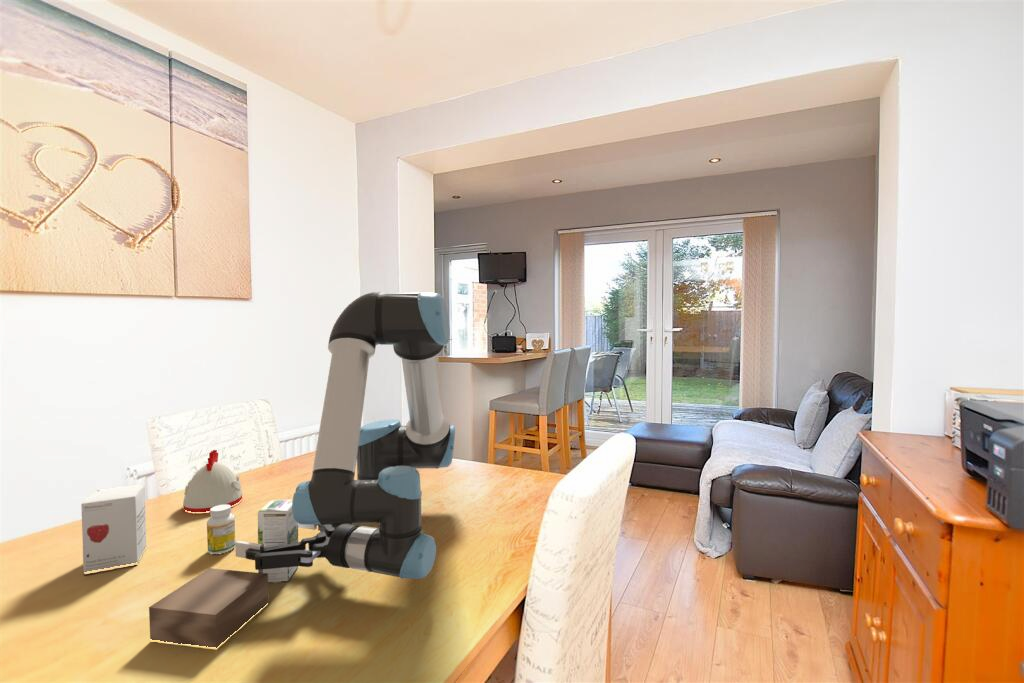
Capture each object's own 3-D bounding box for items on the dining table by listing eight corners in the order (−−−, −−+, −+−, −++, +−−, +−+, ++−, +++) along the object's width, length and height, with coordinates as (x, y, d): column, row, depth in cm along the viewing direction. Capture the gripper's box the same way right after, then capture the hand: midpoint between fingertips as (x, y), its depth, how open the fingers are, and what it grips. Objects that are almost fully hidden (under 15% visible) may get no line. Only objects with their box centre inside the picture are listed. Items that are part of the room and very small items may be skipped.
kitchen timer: (247, 493, 140) (245, 443, 140) (235, 510, 127) (234, 456, 127) (193, 498, 136) (191, 447, 135) (175, 517, 123) (173, 461, 122)
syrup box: (270, 568, 97) (268, 499, 97) (299, 567, 98) (298, 498, 97) (257, 584, 91) (255, 510, 91) (289, 582, 92) (287, 509, 91)
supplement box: (81, 577, 94) (78, 503, 94) (96, 557, 102) (93, 489, 102) (138, 566, 98) (135, 495, 98) (148, 547, 106) (145, 482, 106)
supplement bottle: (233, 552, 104) (232, 510, 104) (205, 557, 102) (204, 514, 101) (237, 542, 109) (236, 501, 108) (210, 546, 107) (208, 505, 106)
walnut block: (150, 643, 75) (148, 607, 75) (210, 599, 87) (209, 568, 87) (216, 652, 73) (215, 614, 73) (268, 606, 85) (267, 573, 85)
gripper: (310, 604, 77) (210, 583, 83) (391, 537, 101) (309, 525, 107) (309, 559, 77) (209, 542, 83) (390, 502, 101) (308, 492, 107)
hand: (265, 532), depth 95 cm, fingers open, 13 cm apart
